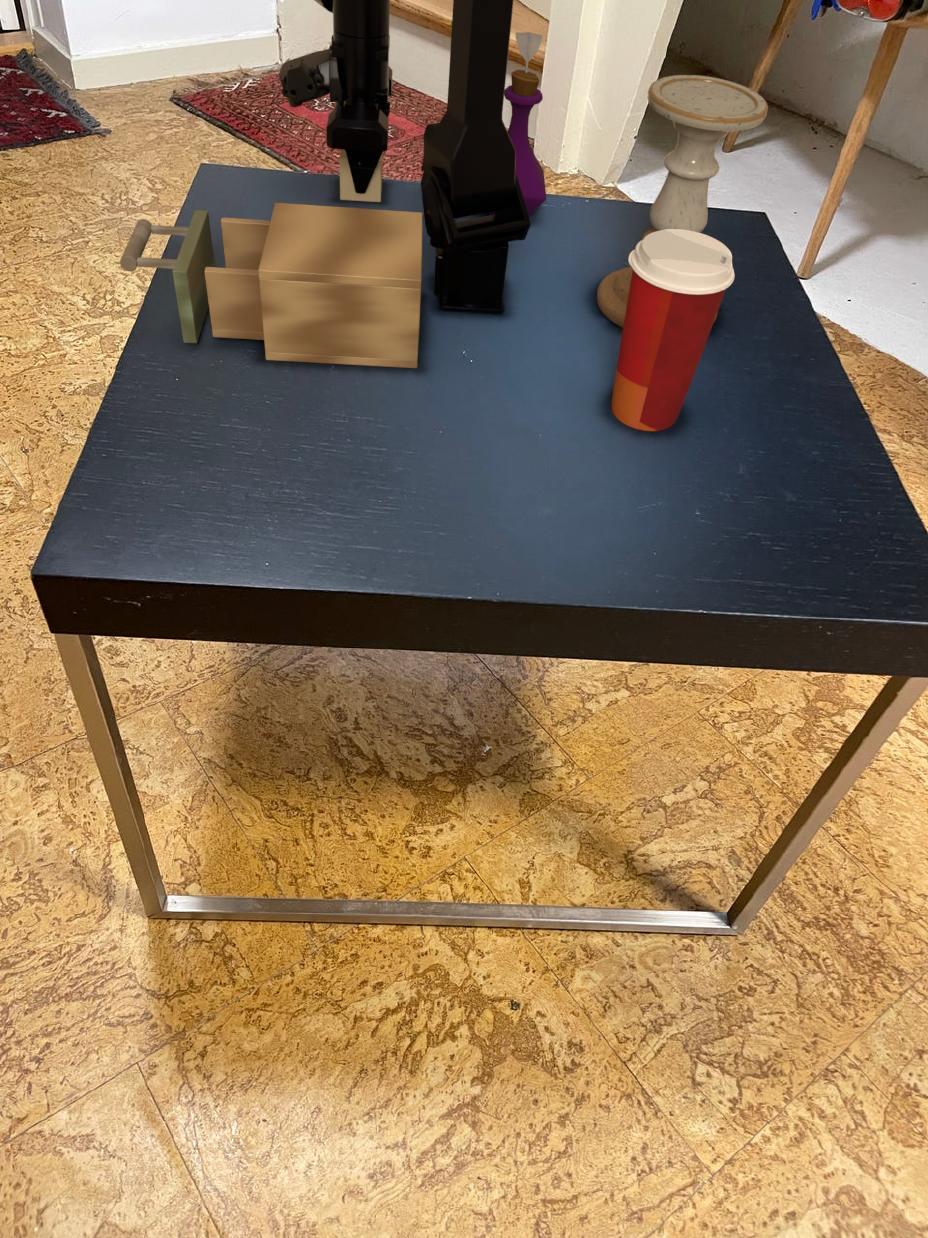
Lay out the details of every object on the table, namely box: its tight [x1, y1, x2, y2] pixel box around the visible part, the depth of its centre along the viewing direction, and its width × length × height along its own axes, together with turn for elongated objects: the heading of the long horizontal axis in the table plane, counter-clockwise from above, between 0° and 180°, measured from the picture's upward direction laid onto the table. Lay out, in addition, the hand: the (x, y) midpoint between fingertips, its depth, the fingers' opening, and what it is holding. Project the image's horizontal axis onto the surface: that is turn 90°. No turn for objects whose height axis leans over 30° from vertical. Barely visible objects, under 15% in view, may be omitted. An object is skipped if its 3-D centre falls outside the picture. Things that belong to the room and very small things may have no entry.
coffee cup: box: [611, 229, 736, 432], centre depth 79 cm, size 8×8×15 cm
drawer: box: [119, 209, 271, 344], centre depth 86 cm, size 17×11×7 cm, turn 91°
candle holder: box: [596, 74, 769, 329], centre depth 90 cm, size 12×12×20 cm
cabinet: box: [258, 202, 424, 369], centre depth 87 cm, size 14×13×9 cm
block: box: [338, 149, 384, 203], centre depth 108 cm, size 5×5×5 cm
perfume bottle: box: [489, 31, 547, 218], centre depth 103 cm, size 8×8×18 cm
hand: (361, 183), depth 109 cm, fingers closed on block, 4 cm apart
